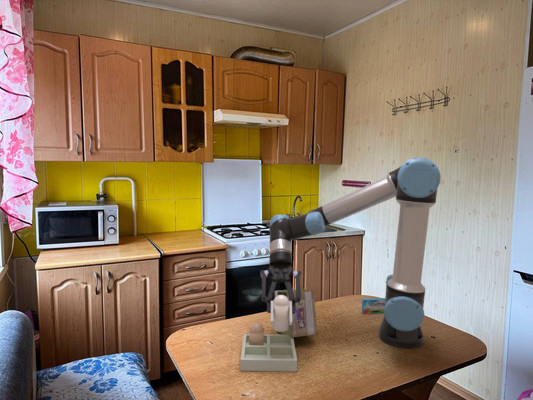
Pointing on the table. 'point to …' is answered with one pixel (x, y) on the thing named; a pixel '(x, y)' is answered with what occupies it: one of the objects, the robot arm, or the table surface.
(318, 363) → the table surface
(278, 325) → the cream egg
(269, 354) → the carton
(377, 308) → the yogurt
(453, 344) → the table surface
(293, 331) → the tea box
